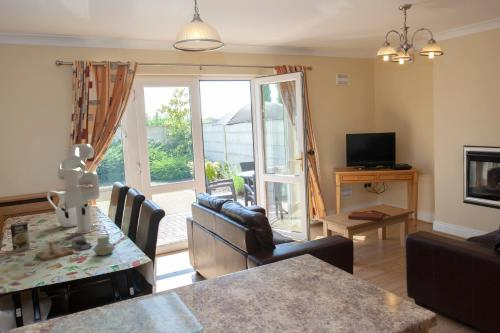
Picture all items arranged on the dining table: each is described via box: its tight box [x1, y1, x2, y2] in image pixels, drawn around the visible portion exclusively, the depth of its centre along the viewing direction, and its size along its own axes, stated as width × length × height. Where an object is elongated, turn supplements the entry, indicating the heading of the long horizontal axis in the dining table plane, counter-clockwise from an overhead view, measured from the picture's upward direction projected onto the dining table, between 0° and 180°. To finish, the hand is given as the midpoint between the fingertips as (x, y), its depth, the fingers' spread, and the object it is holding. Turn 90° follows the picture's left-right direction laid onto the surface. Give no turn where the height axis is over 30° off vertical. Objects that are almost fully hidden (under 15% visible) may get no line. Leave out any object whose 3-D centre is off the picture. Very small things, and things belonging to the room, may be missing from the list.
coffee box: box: [10, 222, 31, 252], centre depth 241 cm, size 9×6×16 cm
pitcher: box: [46, 190, 77, 228], centre depth 295 cm, size 24×17×28 cm
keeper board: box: [35, 241, 74, 262], centre depth 226 cm, size 16×14×8 cm
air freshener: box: [93, 235, 115, 256], centre depth 223 cm, size 11×8×10 cm
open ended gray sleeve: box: [70, 235, 92, 251], centre depth 239 cm, size 14×6×5 cm, turn 43°
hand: (75, 216), depth 240 cm, fingers open, 9 cm apart
